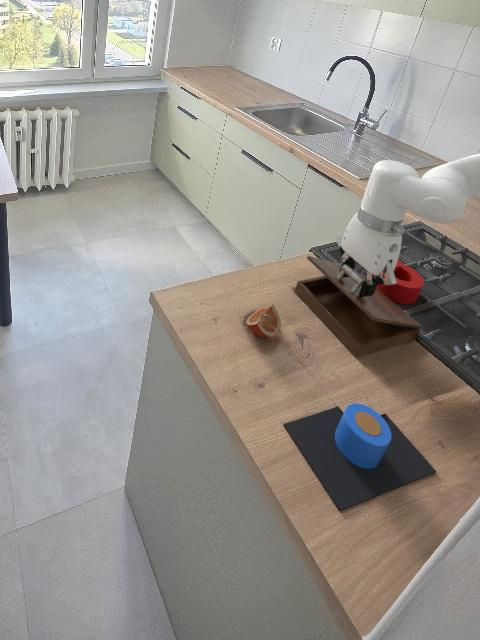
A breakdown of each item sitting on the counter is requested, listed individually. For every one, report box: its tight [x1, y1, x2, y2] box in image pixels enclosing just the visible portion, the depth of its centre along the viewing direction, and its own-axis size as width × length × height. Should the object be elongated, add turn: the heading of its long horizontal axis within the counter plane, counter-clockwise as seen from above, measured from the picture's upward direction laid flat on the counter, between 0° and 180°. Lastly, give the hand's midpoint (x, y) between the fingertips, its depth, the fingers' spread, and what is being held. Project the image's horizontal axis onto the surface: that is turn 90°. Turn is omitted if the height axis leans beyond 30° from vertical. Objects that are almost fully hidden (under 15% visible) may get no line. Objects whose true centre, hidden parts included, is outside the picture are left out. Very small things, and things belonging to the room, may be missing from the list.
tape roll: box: [335, 402, 392, 469], centre depth 71 cm, size 7×7×6 cm
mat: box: [283, 406, 438, 512], centre depth 72 cm, size 20×13×1 cm, turn 106°
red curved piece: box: [374, 259, 425, 305], centre depth 108 cm, size 18×9×7 cm, turn 147°
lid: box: [306, 255, 423, 330], centre depth 95 cm, size 17×19×5 cm
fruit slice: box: [245, 303, 282, 338], centre depth 93 cm, size 8×7×5 cm
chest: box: [294, 275, 421, 359], centre depth 97 cm, size 17×19×4 cm
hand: (354, 285), depth 93 cm, fingers closed on lid, 5 cm apart
